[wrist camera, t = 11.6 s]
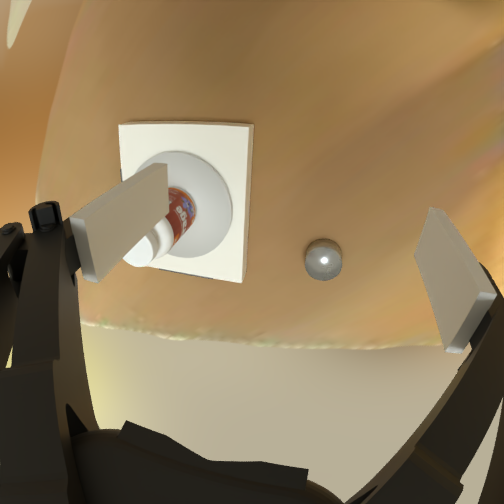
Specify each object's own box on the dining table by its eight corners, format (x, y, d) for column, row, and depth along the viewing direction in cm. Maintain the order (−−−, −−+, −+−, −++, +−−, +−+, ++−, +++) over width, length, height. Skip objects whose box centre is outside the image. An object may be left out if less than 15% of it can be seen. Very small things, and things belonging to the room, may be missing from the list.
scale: (127, 121, 40) (110, 126, 37) (254, 124, 37) (246, 128, 34) (139, 256, 52) (127, 269, 48) (246, 274, 49) (239, 290, 45)
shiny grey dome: (308, 236, 44) (307, 246, 41) (344, 240, 43) (345, 251, 40) (304, 266, 46) (302, 277, 44) (337, 271, 45) (338, 282, 43)
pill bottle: (196, 233, 42) (160, 279, 33) (155, 224, 43) (112, 266, 33) (199, 189, 39) (158, 227, 29) (155, 182, 39) (107, 216, 30)
